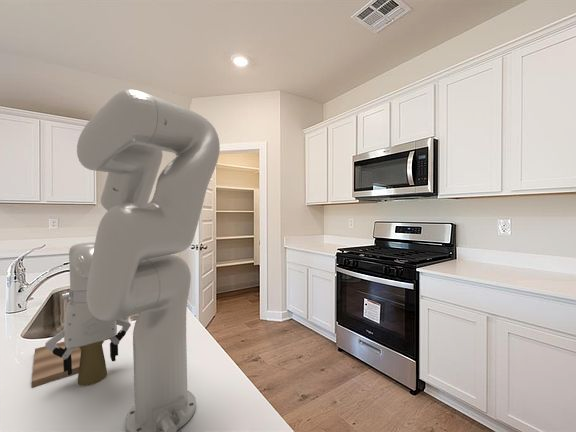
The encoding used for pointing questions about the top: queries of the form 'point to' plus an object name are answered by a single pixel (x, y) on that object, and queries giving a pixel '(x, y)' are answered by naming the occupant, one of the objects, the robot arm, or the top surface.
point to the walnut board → (52, 365)
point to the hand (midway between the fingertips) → (92, 365)
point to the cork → (92, 364)
